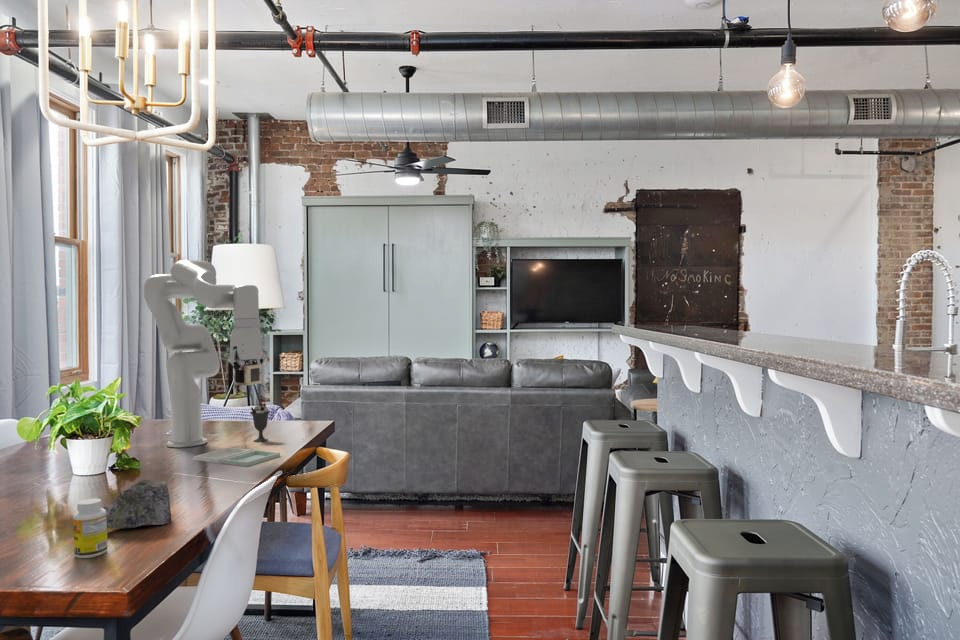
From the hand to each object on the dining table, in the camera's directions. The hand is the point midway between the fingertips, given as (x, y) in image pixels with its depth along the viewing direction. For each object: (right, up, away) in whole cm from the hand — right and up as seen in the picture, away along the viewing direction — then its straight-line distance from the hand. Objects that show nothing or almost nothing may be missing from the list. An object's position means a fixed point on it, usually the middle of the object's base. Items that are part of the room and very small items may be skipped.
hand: (247, 380), depth 214 cm
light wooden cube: (0, -1, 0) cm, 1 cm away
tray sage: (+4, -24, -8) cm, 25 cm away
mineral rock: (-1, -26, -67) cm, 71 cm away
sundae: (-3, -23, +23) cm, 33 cm away
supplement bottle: (-1, -26, -84) cm, 87 cm away
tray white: (-7, -24, -3) cm, 25 cm away
